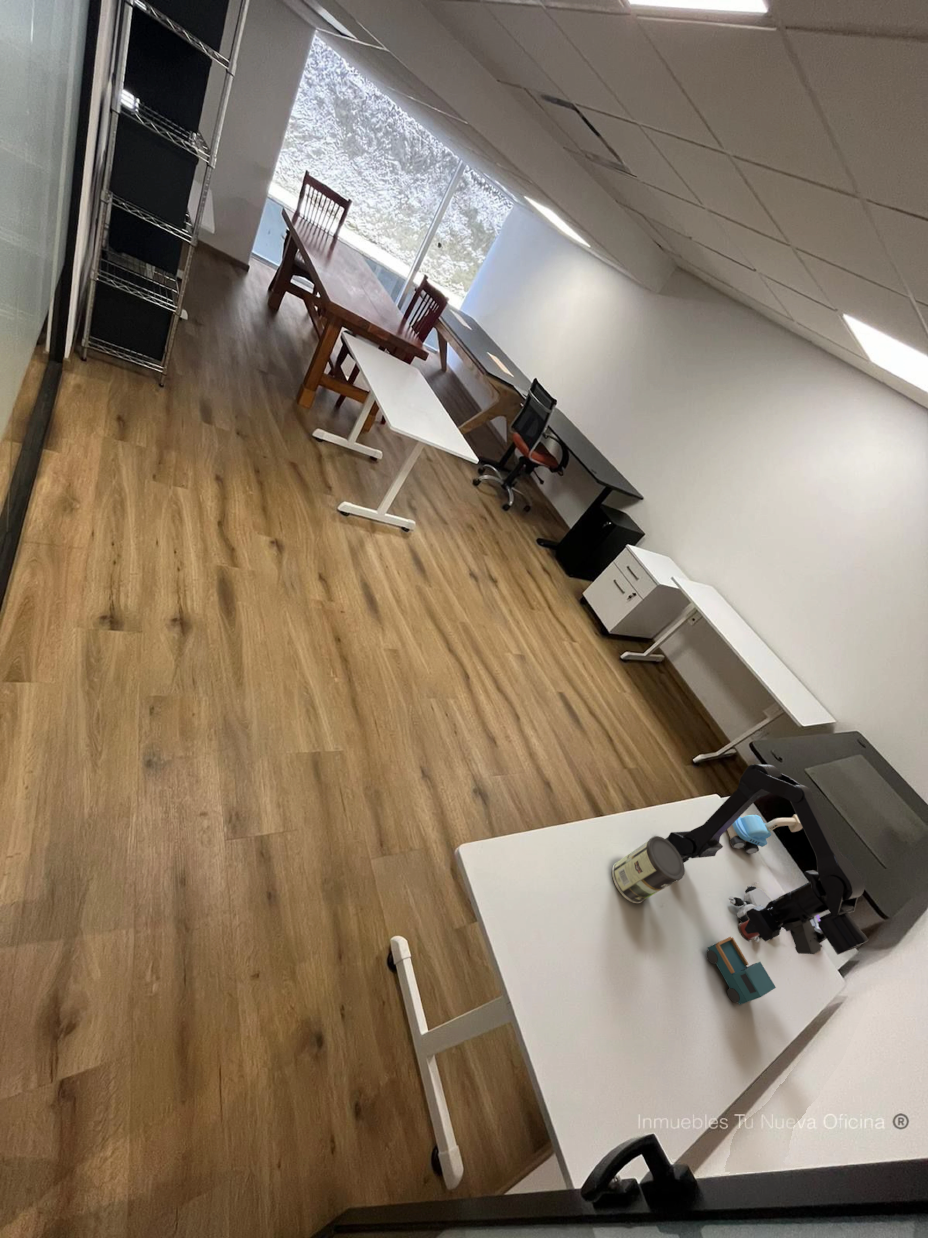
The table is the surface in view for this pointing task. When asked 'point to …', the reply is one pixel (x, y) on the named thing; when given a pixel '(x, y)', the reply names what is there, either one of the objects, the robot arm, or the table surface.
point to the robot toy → (751, 903)
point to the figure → (744, 934)
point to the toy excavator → (757, 831)
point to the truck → (739, 972)
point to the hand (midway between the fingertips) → (750, 929)
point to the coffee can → (648, 870)
